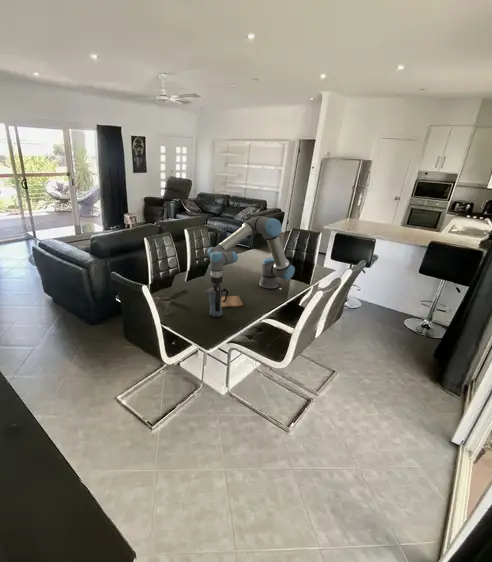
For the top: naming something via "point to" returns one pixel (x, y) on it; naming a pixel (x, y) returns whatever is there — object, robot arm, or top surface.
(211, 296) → the moka pot
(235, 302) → the cork board
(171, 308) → the top surface
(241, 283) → the top surface
